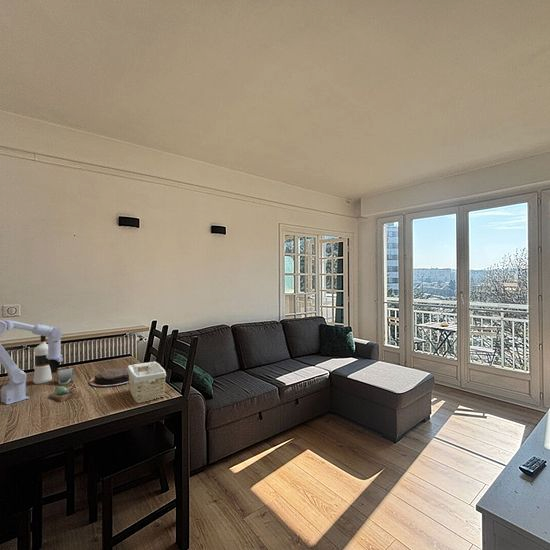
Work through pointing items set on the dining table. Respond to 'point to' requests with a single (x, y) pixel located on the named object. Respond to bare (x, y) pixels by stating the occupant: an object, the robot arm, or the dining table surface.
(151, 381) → the storage basket
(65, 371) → the ceramic mug
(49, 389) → the dining table surface
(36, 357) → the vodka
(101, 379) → the chocolate cake
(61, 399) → the cradle
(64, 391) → the bottle
